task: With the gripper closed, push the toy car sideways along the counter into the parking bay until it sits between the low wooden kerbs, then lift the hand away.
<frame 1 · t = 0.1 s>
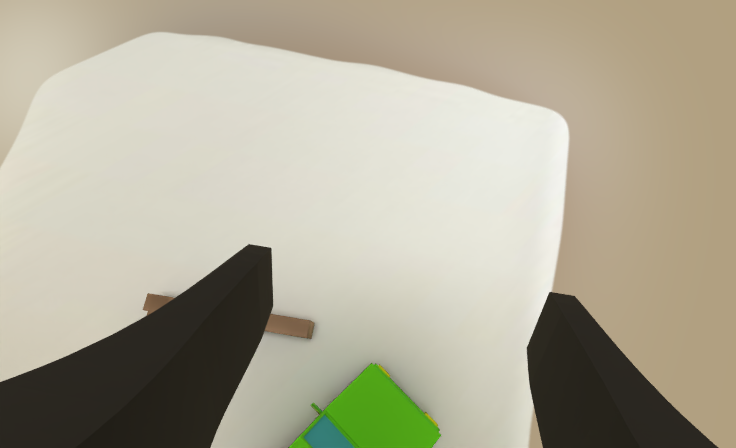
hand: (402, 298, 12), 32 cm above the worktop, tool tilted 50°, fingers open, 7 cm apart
parking bay: (221, 423, 41), on the worktop
toy car: (353, 446, 41), on the worktop
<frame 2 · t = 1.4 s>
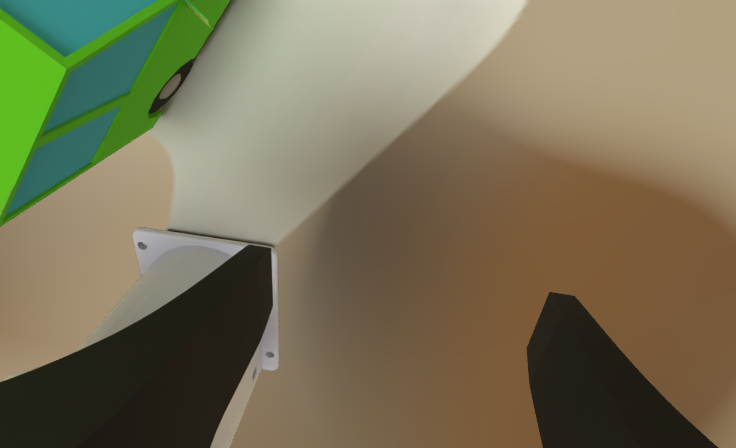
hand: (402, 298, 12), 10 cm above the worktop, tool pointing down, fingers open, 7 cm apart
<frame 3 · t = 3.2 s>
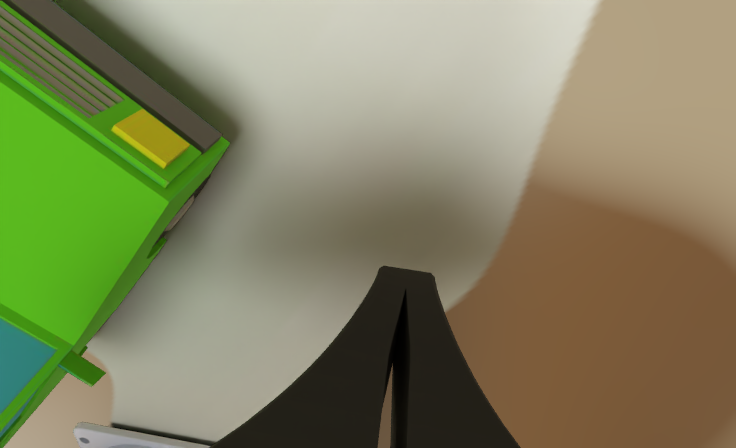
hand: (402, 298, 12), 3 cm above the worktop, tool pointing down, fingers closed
toy car: (63, 177, 16), on the worktop
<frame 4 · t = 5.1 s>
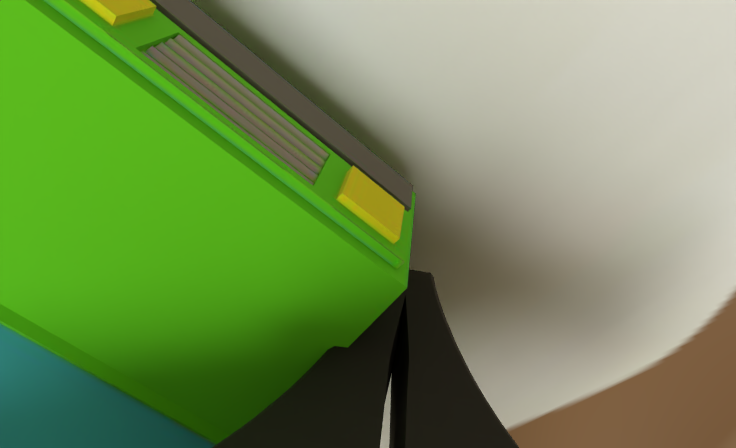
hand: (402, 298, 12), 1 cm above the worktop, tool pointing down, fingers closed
toy car: (184, 224, 14), on the worktop, touching gripper
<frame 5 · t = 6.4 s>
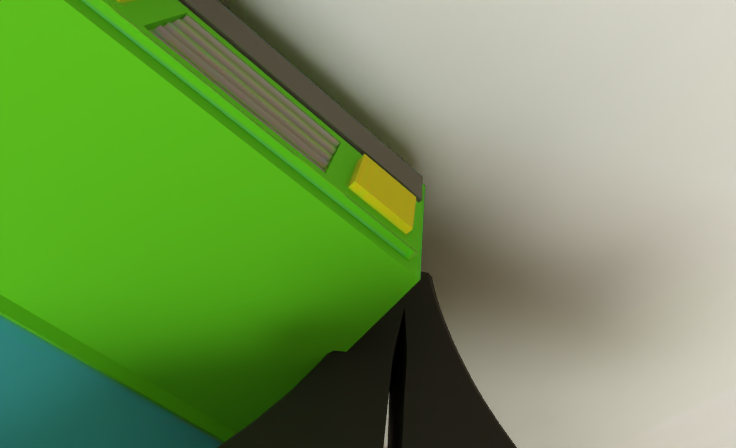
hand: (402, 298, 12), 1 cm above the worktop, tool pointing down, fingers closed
toy car: (186, 215, 14), on the worktop, touching gripper
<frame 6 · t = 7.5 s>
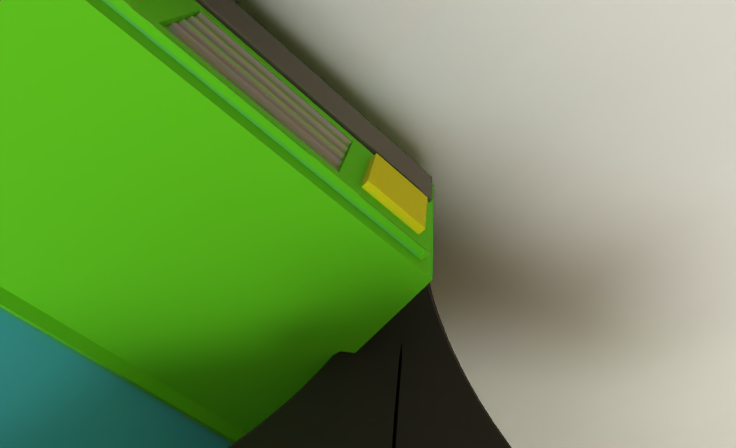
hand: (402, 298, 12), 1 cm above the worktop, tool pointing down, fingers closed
toy car: (191, 214, 14), on the worktop, touching gripper, parking bay
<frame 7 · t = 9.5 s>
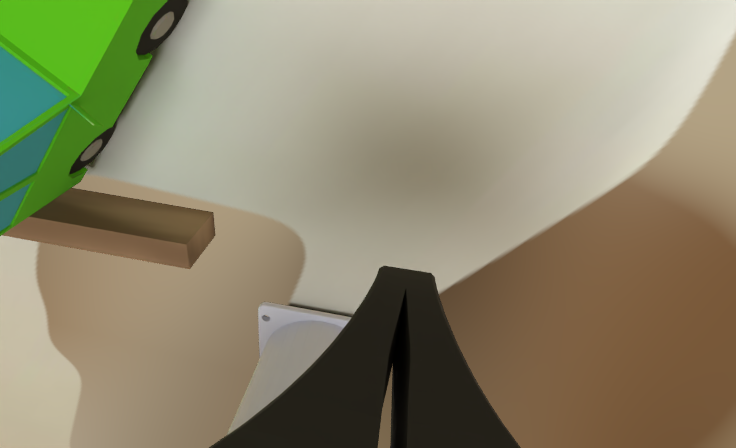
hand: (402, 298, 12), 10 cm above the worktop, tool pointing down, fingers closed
parking bay: (54, 23, 20), on the worktop
toy car: (72, 12, 20), on the worktop
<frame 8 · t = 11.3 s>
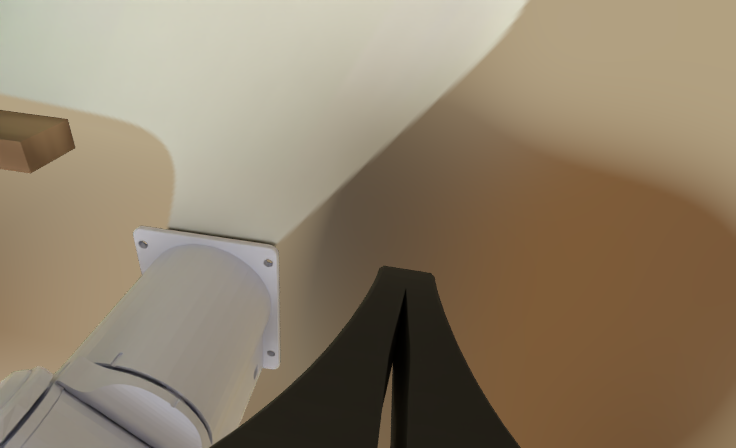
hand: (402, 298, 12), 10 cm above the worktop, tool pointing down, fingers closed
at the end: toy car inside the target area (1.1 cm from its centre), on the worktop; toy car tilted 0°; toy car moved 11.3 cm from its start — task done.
